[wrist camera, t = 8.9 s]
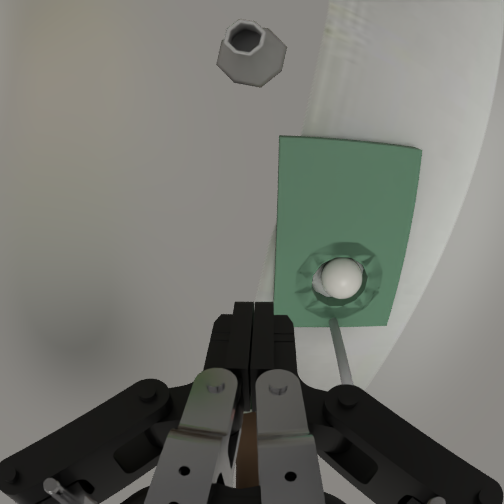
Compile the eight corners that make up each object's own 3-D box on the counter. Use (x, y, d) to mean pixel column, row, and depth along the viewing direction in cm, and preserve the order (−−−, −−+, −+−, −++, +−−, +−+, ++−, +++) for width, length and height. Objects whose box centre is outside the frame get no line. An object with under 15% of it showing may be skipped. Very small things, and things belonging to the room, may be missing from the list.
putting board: (279, 135, 33) (289, 167, 17) (414, 147, 32) (512, 191, 16) (272, 317, 44) (272, 427, 28) (382, 317, 43) (422, 416, 27)
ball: (322, 307, 37) (317, 285, 41) (362, 306, 36) (354, 285, 41) (326, 269, 34) (320, 249, 39) (370, 269, 34) (359, 251, 39)
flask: (298, 45, 28) (309, 23, 19) (264, 98, 31) (262, 96, 22) (239, 15, 27) (228, -16, 18) (205, 68, 30) (181, 56, 21)
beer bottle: (256, 345, 46) (247, 498, 25) (291, 370, 48) (297, 511, 27) (222, 369, 49) (200, 507, 28) (257, 391, 51) (249, 521, 30)
